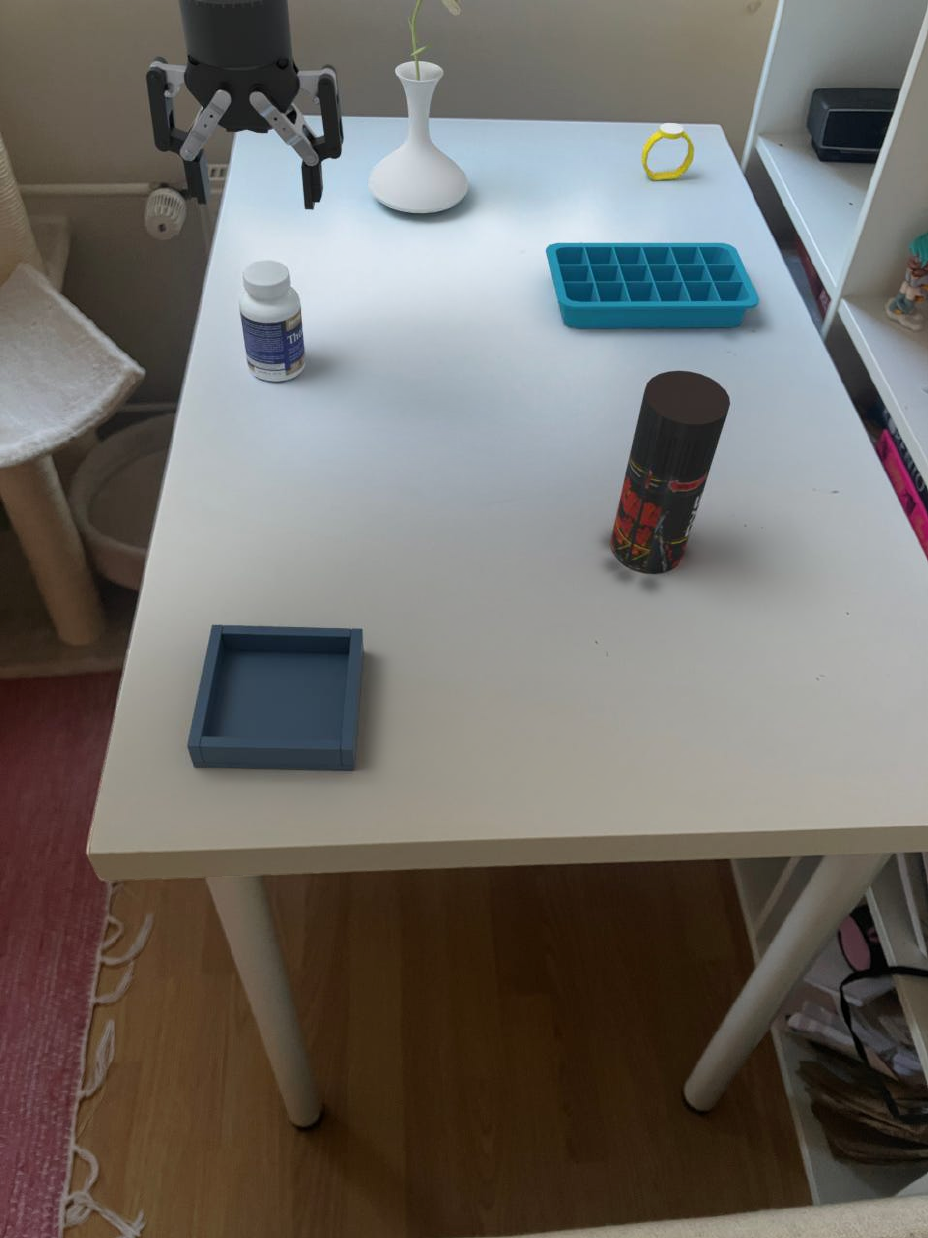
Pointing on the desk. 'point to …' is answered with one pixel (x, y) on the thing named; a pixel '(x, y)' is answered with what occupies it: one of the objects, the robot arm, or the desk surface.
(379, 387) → the desk surface
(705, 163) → the desk surface
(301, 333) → the pill bottle
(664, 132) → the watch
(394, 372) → the desk surface
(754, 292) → the ice cube tray
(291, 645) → the tray
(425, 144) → the flower in vase
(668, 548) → the deodorant
